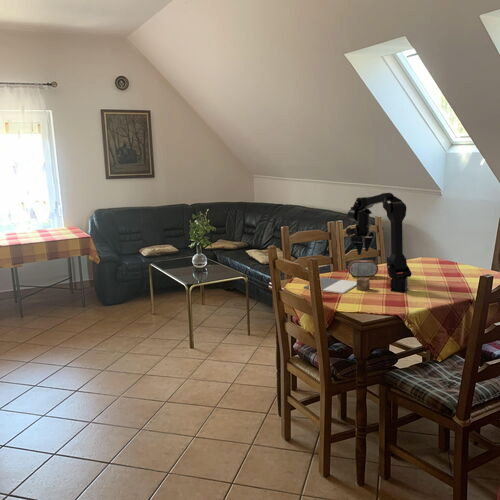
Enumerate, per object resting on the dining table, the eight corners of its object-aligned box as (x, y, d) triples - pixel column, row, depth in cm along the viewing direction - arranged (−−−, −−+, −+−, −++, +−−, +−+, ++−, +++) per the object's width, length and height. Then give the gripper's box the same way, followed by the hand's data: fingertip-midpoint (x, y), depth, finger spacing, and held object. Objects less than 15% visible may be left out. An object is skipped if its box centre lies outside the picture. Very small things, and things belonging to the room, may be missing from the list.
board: (360, 283, 240) (360, 282, 240) (343, 293, 224) (343, 292, 224) (322, 278, 252) (322, 277, 252) (303, 288, 236) (303, 286, 236)
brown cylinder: (369, 288, 231) (369, 278, 230) (365, 291, 227) (365, 280, 226) (360, 287, 233) (360, 277, 232) (356, 290, 230) (356, 279, 229)
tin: (377, 275, 254) (377, 259, 252) (378, 277, 251) (378, 260, 249) (347, 275, 255) (347, 259, 254) (348, 277, 252) (348, 261, 251)
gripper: (355, 219, 260) (355, 248, 263) (340, 224, 245) (340, 255, 248) (376, 220, 253) (375, 250, 256) (362, 225, 238) (361, 257, 241)
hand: (363, 253), depth 251 cm, fingers open, 9 cm apart
